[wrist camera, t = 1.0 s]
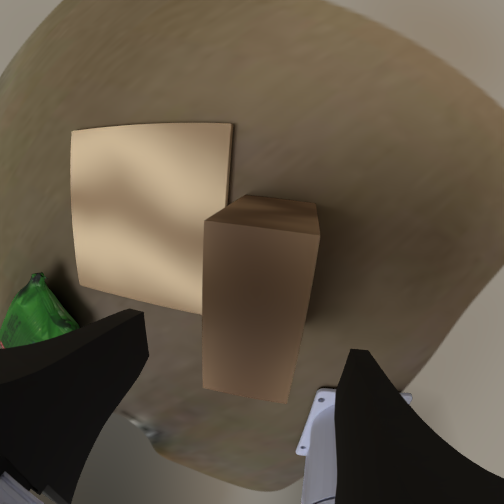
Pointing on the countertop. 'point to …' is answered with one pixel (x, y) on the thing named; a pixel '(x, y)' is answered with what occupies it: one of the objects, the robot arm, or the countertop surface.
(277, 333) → the slab
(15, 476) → the robot arm
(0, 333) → the snack package
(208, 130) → the plate
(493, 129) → the countertop surface
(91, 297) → the countertop surface
